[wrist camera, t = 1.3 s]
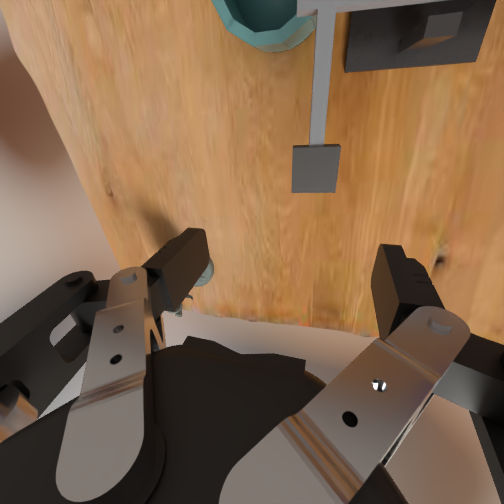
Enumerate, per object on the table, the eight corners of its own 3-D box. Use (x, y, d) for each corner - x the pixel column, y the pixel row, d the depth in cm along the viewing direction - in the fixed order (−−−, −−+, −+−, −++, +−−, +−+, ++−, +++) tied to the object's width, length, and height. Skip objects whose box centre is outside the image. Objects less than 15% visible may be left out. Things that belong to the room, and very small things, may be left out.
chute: (720, -270, 13) (940, -457, 8) (506, 175, 25) (551, 193, 20) (302, -175, 16) (305, -276, 12) (292, 178, 28) (291, 194, 23)
